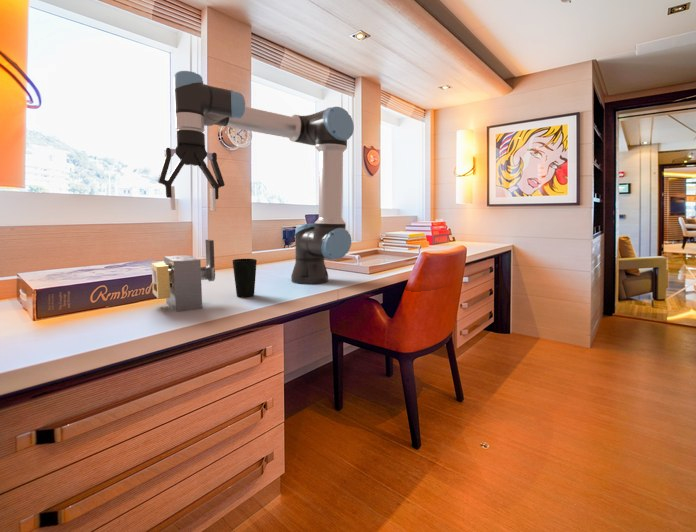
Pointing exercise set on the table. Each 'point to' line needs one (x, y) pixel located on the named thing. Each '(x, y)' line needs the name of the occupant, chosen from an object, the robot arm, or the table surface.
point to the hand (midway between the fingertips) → (193, 210)
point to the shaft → (206, 272)
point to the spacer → (161, 280)
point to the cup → (244, 277)
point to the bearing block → (184, 282)
